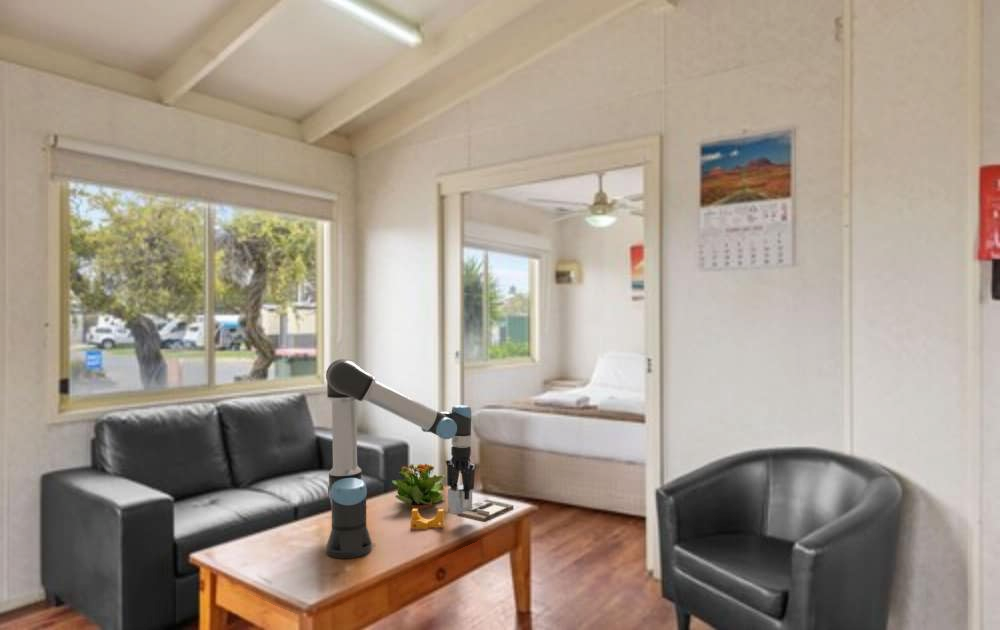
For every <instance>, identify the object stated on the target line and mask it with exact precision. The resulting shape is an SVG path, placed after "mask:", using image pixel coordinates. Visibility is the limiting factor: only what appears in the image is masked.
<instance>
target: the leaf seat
mask: <svg viewBox="0 0 1000 630" xmlns="http://www.w3.org/2000/svg"><path fill="white" fill-rule="evenodd" d="M494 501H495V500H494ZM508 504H509V503H507V502H501V501H497V500H496V501H495V505H493V506H491V507H489V508H486V509H484V510H481V509H477V513H480V514H484V515H488V516H489V515H491V514H494V513H496V512H498V511H501V510H503V509H505V508H507V507H508Z"/></svg>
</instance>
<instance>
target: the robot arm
mask: <svg viewBox="0 0 1000 630" xmlns="http://www.w3.org/2000/svg"><path fill="white" fill-rule="evenodd" d="M325 379H326V384H327V385H326V387H327V388H326V389H327V391H326V392H327V399H328V400H330V402H331V419H332V420H331V423H332V424H331V427H332V428H331V429H332V432H331V433H332V468H331V469H330V470H329V471H328V487H327V494H328V498H329V500H330V506H331V507H330V508H331V530H330V534H329V536H328V537H329V538H328V541H327V544H326V547H325V548H326V556H328V557H330V558H334V559H339V560H341V559H342V560H343V559H355V558H358V557H362V556H366V555H367V554H369V553H370V552H371V551H372V548H373V543H372V539H371V537H370V536H371V535H370V533H369V529H368V527H367V526H368V525H367V493H368V489H367V485H366V482H365V481H364V480H363V478H362V476H363V475H362V471H363V470H362V469H361V467H359V465H358V449H357V448H358V444H357V443H358V439H357V436H358V435H357V430H358V429H357V401H359V402H364V401H365V402H368V403H371V404H373V405H374V406H376V407H379V408H381V409H382V410H385V411H386V412H388V413H391V414H393V415H395V416H397V417H399V418H400V419H403V420H405V421H407V422H409V423H411V424H413V425H415V426H418V427H420V428H421V431H422V432H423V433H424V432H425V433H431V434H434V435H436V436H438V437H439V438H440V439H443V440H450V439H451V445H452V446H451V447H450V450H451V451H450V454H451V458H450V459H447V460H445V463H446V479H447V480H446V486H447V487H450V488H453V487H457V486H459V485H458V483H459V477H460V473H461V479H462V485H463V488H464V490H463V491H462V508H466V507H468V499H469V491H470V490H472V491H473V490H474V489H475V471H476V470H475V469H476V467H477V465H476V463H472V462H471V452H472V451H471V450H472V449H471V448H472V446H471V445H472V419H473V417H472V408H471V406H470V405H465V404H464V405H463V404H460V405H459V404H457V405H453V406H452V408H451V410H450V411H436V410H435V409H433V408H431V407H429V406H426V405H425V404H422V403H420V402H419V401H417V400H415V399H412V398H411V397H408V396H406V394H402V393H401V392H399V391H397V390H395V389H393V388H391V387H389V386H387V385H385V384H383V383H381V382H379V381H377V380H376V379H375V376H374V375H372V374H370V373H368V372H366V371H365V370H363V369H362V368H361V367H360V366H358V365H357V364H356V363H355V361H352V360H350V359H345V358H341V359H340V358H339V359H336V360H334V361H333V362H331V363H330V364H329V366H328V367H327V369H326V371H325Z"/></svg>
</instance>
